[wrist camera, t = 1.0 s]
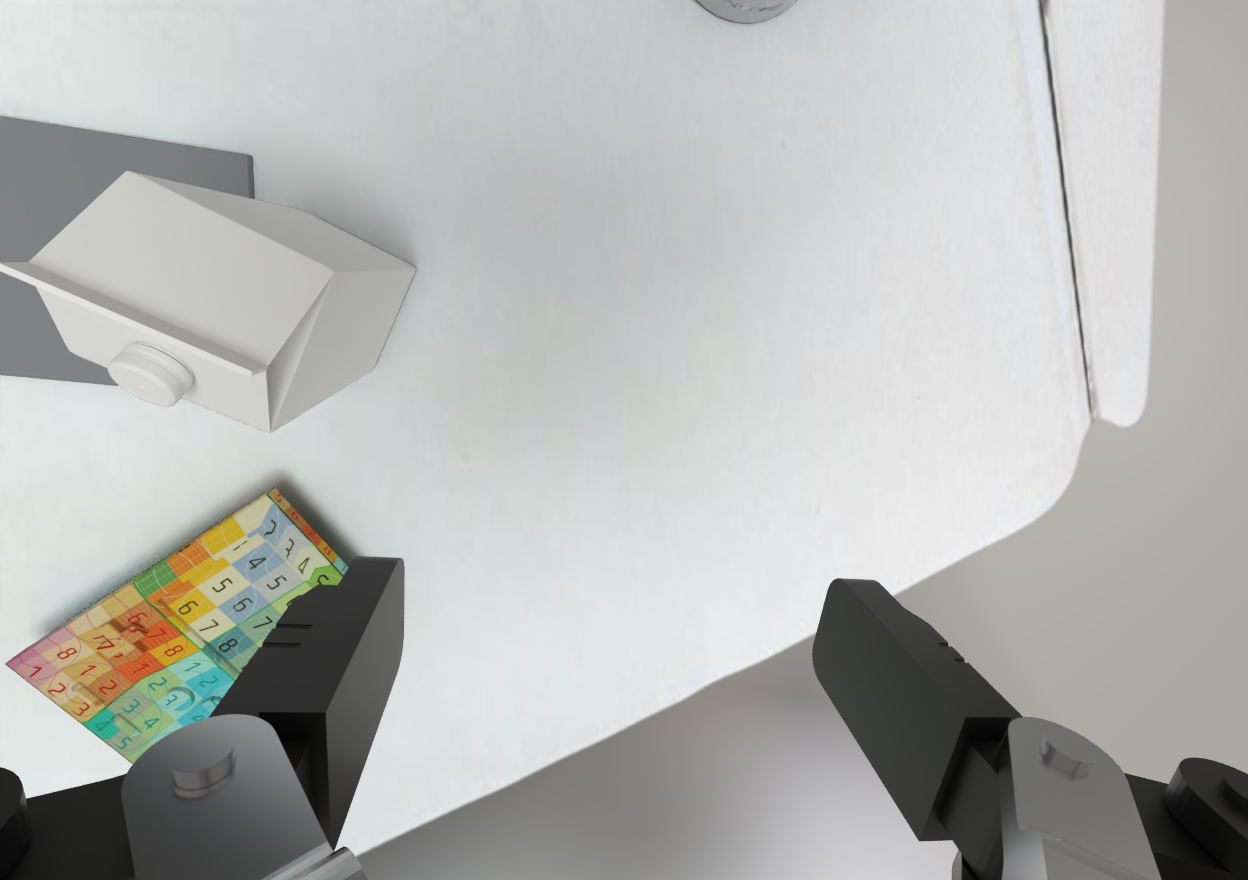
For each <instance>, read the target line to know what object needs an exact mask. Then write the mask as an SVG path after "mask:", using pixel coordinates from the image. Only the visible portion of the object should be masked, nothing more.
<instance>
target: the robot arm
mask: <svg viewBox="0 0 1248 880" xmlns="http://www.w3.org/2000/svg"><path fill="white" fill-rule="evenodd" d="M697 1H698V2H699V3H700V4H701V5H702V6H703V7H704V8H706V9H708V10H709V11H711V12H712V13H714V14H715V15H717V16H718V17H721V18H724V19H727V20H730V21H732V22H741V23H754V22H760V21H765V20H768V19H770V18H772V17H775V16H777V15H779V14H781V13H782V12H784V11H785V10H786V9H788V8H789V7H790V6H792V5H793V4H794V3H795V2H796V1H797V0H697ZM403 639H404V562H403V559H402V558H387V557H365V556H357V557H355V558H354V560H353V561H352V563H351V564H350V566H349V568H348V569H347V571H346V572H345V574H344V576H343V577H342V579H341V581H340V582H339V584H338V585H323V584H318V585H317V586H315V587H314V588H312V589H311V590H309V591H308V592H306V593H305V594H303V595H302V596H300V597H299V598H297V599H296V600H294V601H293V602H291V604H290V605H289V606H288V608H287V609H286V611H285V612H284V613H283V615H282V616H281V618H280V619H279V620H278V622H277V623H276V627H275V628H273V629H272V630H271V631H270V633H269V634H268V636H267V637H266V638H265V640H264V641H263V644H262V647H259V648H258V649H257V651H256V652H255V654H254V655H253V656H252V658H251V659H250V660H249V662H248V663H247V665H246V666H245V667H244V669H243V670H242V672H241V673H240V674H239V676H238V677H237V679H236V680H235V681H234V683H233V684H232V685H231V687H230V688H229V690H228V691H227V692H226V694H225V695H224V697H223V698H222V699H221V701H220V702H219V703H218V705H217V706H216V708H215V709H214V710H213V712H212V713H211V715H210V716H209V717H208V718H206V719H203V720H200V721H197V722H194V723H191V724H189V725H186V726H184V727H182V728H179V729H177V730H176V731H174V732H172V733H170V734H168V735H166V736H165V737H163V738H162V739H160V740H159V741H157V742H156V743H155V744H153V745H152V746H151V747H150V748H148V749H147V750H146V751H145V752H144V753H143V754H142V755H141V756H140V757H139V758H138V759H137V760H136V761H135V762H134V764H133V765H132V766H131V768H130V769H129V771H128V773H127V774H124V775H121V776H118V777H114V778H111V779H107V780H103V781H99V782H95V783H91V784H86V785H82V786H78V787H74V788H70V789H65V790H61V791H57V792H53V793H49V794H44V795H40V796H36V797H32V798H28V799H26V797H25V793H24V789H23V785H22V782H21V780H20V779H19V777H18V776H17V775H16V774H15V773H14V772H12V771H10V770H7V769H5V768H1V767H0V880H368V879H367V877H366V875H365V873H364V871H363V869H362V868H361V866H360V864H359V862H358V860H357V859H356V857H355V856H354V854H353V853H352V852H351V851H350V849H348V848H347V847H342V848H340V849H339V850H337V851H335V852H334V850H335V848H336V845H337V842H338V839H339V836H340V833H341V831H342V828H343V825H344V822H345V819H346V816H347V814H348V811H349V808H350V805H351V802H352V800H353V797H354V794H355V791H356V788H357V785H358V783H359V780H360V777H361V774H362V771H363V768H364V766H365V763H366V760H367V757H368V754H369V751H370V749H371V746H372V743H373V740H374V737H375V734H376V732H377V729H378V726H379V723H380V720H381V718H382V715H383V712H384V709H385V706H386V703H387V701H388V698H389V695H390V692H391V689H392V686H393V684H394V681H395V678H396V675H397V672H398V669H399V665H400V660H401V655H402V649H403ZM812 655H813V665H814V669H815V673H816V676H817V678H818V680H819V682H820V683H821V685H822V686H823V688H824V690H825V691H826V693H827V695H828V696H829V698H830V699H831V701H832V703H833V704H834V706H835V707H836V709H837V710H838V712H839V714H840V715H841V717H842V719H843V720H844V722H845V723H846V725H847V726H848V728H849V730H850V731H851V733H852V735H853V736H854V738H855V739H856V741H857V743H858V744H859V746H860V747H861V749H862V751H863V752H864V754H865V755H866V757H867V758H868V760H869V762H870V763H871V765H872V767H873V768H874V770H875V771H876V773H877V775H878V776H879V778H880V779H881V781H882V783H883V784H884V786H885V787H886V789H887V790H888V792H889V794H890V795H891V797H892V798H893V800H894V802H895V803H896V805H897V807H898V808H899V810H900V811H901V813H902V815H903V816H904V818H905V819H906V821H907V823H908V824H909V826H910V827H911V829H912V831H913V832H914V834H915V835H916V837H917V839H918V840H919V841H942V840H953V842H954V843H955V845H956V846H957V847H958V852H957V855H956V857H955V859H954V862H953V866H952V880H1248V774H1246V773H1244V772H1242V771H1240V770H1237V769H1235V768H1233V767H1230V766H1228V765H1225V764H1222V763H1219V762H1216V761H1212V760H1208V759H1203V758H1187V759H1184V760H1182V761H1181V762H1180V764H1179V766H1178V768H1177V770H1176V772H1175V773H1174V775H1173V778H1172V779H1171V781H1170V783H1169V784H1166V783H1162V782H1158V781H1154V780H1150V779H1146V778H1142V777H1138V776H1133V775H1130V774H1126V773H1123V771H1122V770H1121V768H1120V767H1119V766H1118V765H1117V764H1116V763H1115V761H1114V760H1113V759H1112V758H1111V757H1110V756H1109V755H1108V754H1107V753H1105V752H1104V751H1103V750H1102V749H1100V748H1099V747H1098V746H1097V745H1095V744H1094V743H1092V742H1091V741H1089V740H1088V739H1086V738H1085V737H1083V736H1081V735H1080V734H1078V733H1076V732H1074V731H1072V730H1070V729H1068V728H1066V727H1063V726H1061V725H1059V724H1056V723H1053V722H1051V721H1047V720H1044V719H1039V718H1033V717H1023V716H1021V714H1020V713H1019V712H1017V710H1015V708H1013V707H1012V706H1011V705H1010V704H1009V703H1008V702H1007V701H1006V700H1005V699H1004V698H1003V697H1002V696H1001V695H1000V694H999V693H998V692H997V691H996V690H995V689H994V688H993V687H992V686H991V685H990V684H989V683H988V682H987V681H986V680H985V679H984V678H983V677H982V676H981V675H980V674H979V673H978V672H977V671H976V670H975V669H974V668H973V667H972V666H971V665H970V664H969V663H965V662H964V658H963V657H962V656H961V655H960V654H959V653H958V652H957V651H956V650H955V649H954V648H953V647H949V646H948V642H947V641H945V639H944V638H943V637H942V636H941V635H940V634H939V633H937V631H936V630H935V629H934V628H933V627H932V626H931V625H929V624H928V623H927V622H925V621H924V620H922V619H921V618H919V617H918V616H916V615H914V614H912V613H911V612H910V611H908V610H907V609H905V608H903V607H902V606H901V605H900V604H899V603H898V602H897V601H896V599H895V598H894V597H893V596H892V595H891V594H890V593H889V592H888V591H887V590H886V589H885V588H884V587H883V586H882V585H881V584H880V583H878V582H877V581H875V580H863V579H840V578H839V579H835V580H833V581H832V583H831V584H830V586H829V588H828V591H827V595H826V599H825V602H824V606H823V610H822V614H821V618H820V621H819V625H818V629H817V633H816V637H815V640H814V644H813V653H812Z"/></svg>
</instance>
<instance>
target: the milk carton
mask: <svg viewBox="0 0 1248 880" xmlns="http://www.w3.org/2000/svg"><path fill="white" fill-rule="evenodd" d="M0 271H1V272H3V273H6V274H8V275H10V276H13V277H15V278H17V279H20V280H22V281H24V282H27V283H29V284H31V285H34V286H36V288H37V290H38V292H39V294H40V296H41V298H42V299H43V301H44V303H45V305H46V307H47V309H48V311H49V313H50V315H51V317H52V319H53V321H54V323H55V325H56V327H57V329H58V331H59V332H60V334H61V336H62V338H63V340H64V342H65V344H66V346H67V348H68V349H69V351H70V352H72V353H74V354H75V355H78V356H80V357H82V358H84V359H87V360H89V361H92V362H94V363H96V364H99V365H101V366H103V367H106V368H107V369H108V372H109V374H110V376H111V378H112V379H113V380H114V381H115V382H116V383H117V384H118V385H119V386H120V387H121V388H123V389H124V390H126V391H127V392H129V393H130V394H132V395H134V396H136V397H138V398H140V399H142V400H144V401H146V402H149V403H152V404H155V405H158V406H164V407H170V406H173V405H175V404H176V403H177V402H178V401H179V400H180V399H181V398H182V399H185V400H187V401H189V402H192V403H194V404H197V405H199V406H202V407H204V408H207V409H209V410H212V411H214V412H216V413H219V414H221V415H224V416H226V417H229V418H231V419H234V420H236V421H239V422H241V423H244V424H246V425H249V426H251V427H254V428H257V429H259V430H262V431H265V432H268V433H271V432H273V431H275V430H276V429H278V428H280V427H281V426H283V425H285V424H286V423H288V422H290V421H291V420H293V419H294V418H296V417H298V416H299V415H301V414H302V413H304V412H306V411H307V410H309V409H311V408H312V407H314V406H315V405H317V404H319V403H320V402H322V401H323V400H325V399H327V398H328V397H330V396H332V395H333V394H335V393H336V392H338V391H340V390H341V389H343V388H344V387H346V386H348V385H349V384H351V383H353V382H354V381H356V380H357V379H359V378H361V377H362V376H364V375H365V374H367V373H369V372H370V371H372V370H373V369H374V367H375V365H376V363H377V360H378V358H379V356H380V353H381V351H382V349H383V346H384V344H385V342H386V339H387V337H388V335H389V332H390V330H391V328H392V325H393V323H394V321H395V318H396V316H397V314H398V311H399V309H400V307H401V304H402V302H403V300H404V297H405V295H406V293H407V290H408V288H409V286H410V283H411V281H412V279H413V276H414V274H415V272H416V268H415V267H413V266H412V265H410V264H408V263H406V262H404V261H402V260H400V259H398V258H396V257H394V256H392V255H390V254H389V253H387V252H385V251H383V250H381V249H379V248H377V247H375V246H373V245H371V244H369V243H367V242H365V241H363V240H361V239H359V238H357V237H355V236H353V235H351V234H349V233H347V232H345V231H343V230H341V229H339V228H337V227H335V226H333V225H331V224H329V223H327V222H325V221H323V220H322V219H320V218H318V217H316V216H314V215H312V214H310V213H307V212H305V211H303V210H299V209H295V208H291V207H286V206H282V205H277V204H273V203H268V202H264V201H259V200H255V199H251V198H246V197H242V196H237V195H233V194H228V193H224V192H219V191H215V190H211V189H206V188H202V187H197V186H193V185H188V184H184V183H179V182H175V181H171V180H166V179H162V178H157V177H153V176H148V175H144V174H139V173H135V172H131V171H126V172H124V173H123V174H122V175H121V176H120V177H119V178H118V179H117V180H116V181H115V182H114V183H113V184H112V185H110V186H109V187H108V188H107V189H106V190H105V191H104V192H103V193H102V194H101V195H100V196H99V197H98V198H96V199H95V200H94V201H93V202H92V203H91V204H90V205H89V206H88V207H87V208H86V209H85V210H84V211H82V212H81V213H80V214H79V215H78V216H77V217H76V218H75V219H74V220H73V221H72V222H71V223H70V224H68V225H67V226H66V227H65V228H64V229H63V230H62V231H61V232H60V233H59V234H58V235H57V236H56V237H54V238H53V239H52V240H51V241H50V242H49V243H48V244H47V245H46V246H45V247H44V248H43V249H42V250H40V251H39V252H38V253H37V254H36V255H35V256H34V257H33V258H32V259H31V260H30V261H29V262H0Z"/></svg>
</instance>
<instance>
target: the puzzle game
mask: <svg viewBox="0 0 1248 880" xmlns="http://www.w3.org/2000/svg"><path fill="white" fill-rule="evenodd" d="M348 568H349V567H348V566H347V565H346V564H345V563H344V562H343V561H342V560H341V559H340V558H339V556H338V555H337V554H336V553H335V552H334V551H333V550H332V549H331V548H330V547H329V546H328V545H327V543H326V542H325V541H324V540H323V539H322V538H321V537H320V536H319V535H318V534H317V533H316V532H315V531H314V529H313V528H312V527H311V526H310V525H309V524H308V523H307V522H306V521H305V520H304V519H303V518H302V516H301V515H300V514H299V513H298V512H297V511H296V510H295V509H294V508H293V507H292V506H291V505H290V503H289V502H288V501H287V500H286V499H285V498H284V497H283V496H282V495H281V494H280V493H279V492H278V491H277V489H276V488H275V487H274V488H272V489H271V490H269V491H267V492H266V493H264V494H263V495H261V496H260V497H258V498H257V499H255V500H254V501H252V502H251V503H249V504H248V505H246V506H244V507H243V508H241V509H240V510H238V511H237V512H235V513H234V514H232V515H231V516H229V517H228V518H226V519H224V520H223V521H221V522H220V523H218V524H217V525H215V526H214V527H212V528H211V529H209V530H208V531H206V532H204V533H203V534H201V535H200V536H198V537H197V538H195V539H194V540H192V541H191V542H189V543H188V544H186V545H185V546H183V547H181V548H180V549H178V550H177V551H175V552H174V553H172V554H171V555H169V556H168V557H166V558H165V559H163V560H161V561H160V562H158V563H157V564H155V565H154V566H152V567H151V568H149V569H148V570H146V571H145V572H143V573H141V574H140V575H138V576H137V577H135V578H134V579H132V580H131V581H129V582H128V583H126V584H125V585H123V586H122V587H120V588H118V589H117V590H115V591H114V592H112V593H111V594H109V595H108V596H106V597H105V598H103V599H102V600H100V601H98V602H97V603H95V604H94V605H92V606H91V607H89V608H88V609H86V610H85V611H83V612H82V613H80V614H78V615H77V616H75V617H74V618H72V619H71V620H69V621H68V622H66V623H65V624H63V625H62V626H60V627H59V628H57V629H55V630H54V631H52V632H51V633H49V634H48V635H46V636H45V637H43V638H42V639H40V640H39V641H37V642H35V643H34V644H32V645H31V646H29V647H28V648H26V649H25V650H23V651H22V652H20V653H19V654H18V655H16V656H15V657H14V658H12V659H11V660H9V661H8V662H7V663H5V664H6V665H7V666H8V667H9V668H11V669H12V670H13V671H15V672H16V673H17V674H18V675H20V676H21V677H22V678H23V679H25V680H26V681H27V682H29V683H30V684H31V685H32V686H34V687H35V688H36V689H38V690H39V691H40V692H41V693H43V694H44V695H45V696H46V697H48V698H49V699H50V700H52V701H53V702H54V703H55V704H57V705H58V706H59V707H60V708H62V709H63V710H64V711H66V712H67V713H68V714H69V715H71V716H72V717H73V718H75V719H76V720H77V721H78V722H80V723H81V724H82V725H83V726H85V727H86V728H87V729H89V730H90V731H91V732H92V733H94V734H95V735H96V736H97V737H99V738H100V739H101V740H103V741H104V742H105V743H106V744H108V745H109V746H110V747H112V748H113V749H114V750H115V751H117V752H118V753H119V754H120V755H122V756H123V757H124V758H126V759H127V760H128V761H129V762H131V763H132V764H134V762H135V761H136V760H137V759H138V758H139V757H140V756H141V755H142V754H143V753H144V752H145V751H146V750H147V749H148V748H150V747H151V746H152V745H153V744H155V743H156V742H157V741H159V740H160V739H162V738H163V737H165V736H166V735H168V734H170V733H172V732H174V731H176V730H177V729H179V728H182V727H184V726H186V725H189V724H191V723H194V722H197V721H200V720H203V719H206V718H208V717H209V716H210V715H211V713H212V712H213V710H214V709H215V708H216V706H217V705H218V703H219V702H220V701H221V699H222V698H223V697H224V695H225V694H226V692H227V691H228V690H229V688H230V687H231V685H232V684H233V683H234V681H235V680H236V679H237V677H238V676H239V674H240V673H241V672H242V670H243V669H244V667H245V666H246V665H247V663H248V662H249V660H250V659H251V658H252V656H253V655H254V654H255V652H256V651H257V649H258V648H259V647H262V644H263V641H264V640H265V638H266V637H267V636H268V634H269V633H270V631H271V630H272V629H273V628H275V627H276V623H277V622H278V620H279V619H280V618H281V616H282V615H283V613H284V612H285V611H286V609H287V608H288V606H289V605H290V604H291V602H293V601H294V600H296V599H297V598H299V597H300V596H302V595H303V594H305V593H306V592H308V591H309V590H311V589H312V588H314V587H315V586H317V585H318V584H323V585H338V584H339V582H340V581H341V579H342V577H343V576H344V574H345V572H346V571H347V569H348Z"/></svg>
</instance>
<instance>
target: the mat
mask: <svg viewBox="0 0 1248 880" xmlns="http://www.w3.org/2000/svg"><path fill="white" fill-rule="evenodd" d="M126 171H131V172H135V173H139V174H144V175H148V176H153V177H157V178H162V179H166V180H171V181H175V182H179V183H184V184H188V185H193V186H197V187H202V188H206V189H211V190H215V191H219V192H224V193H228V194H233V195H237V196H242V197H246V198H251V199H254V184H253V159H252V157H251V156H249V155H244V154H238V153H232V152H225V151H219V150H212V149H206V148H200V147H193V146H187V145H180V144H174V143H167V142H161V141H155V140H148V139H142V138H135V137H129V136H123V135H116V134H110V133H103V132H97V131H91V130H84V129H78V128H71V127H65V126H59V125H52V124H46V123H39V122H33V121H27V120H20V119H14V118H7V117H1V116H0V262H29V261H30V260H31V259H32V258H33V257H34V256H35V255H36V254H37V253H38V252H39V251H40V250H42V249H43V248H44V247H45V246H46V245H47V244H48V243H49V242H50V241H51V240H52V239H53V238H54V237H56V236H57V235H58V234H59V233H60V232H61V231H62V230H63V229H64V228H65V227H66V226H67V225H68V224H70V223H71V222H72V221H73V220H74V219H75V218H76V217H77V216H78V215H79V214H80V213H81V212H82V211H84V210H85V209H86V208H87V207H88V206H89V205H90V204H91V203H92V202H93V201H94V200H95V199H96V198H98V197H99V196H100V195H101V194H102V193H103V192H104V191H105V190H106V189H107V188H108V187H109V186H110V185H112V184H113V183H114V182H115V181H116V180H117V179H118V178H119V177H120V176H121V175H122V174H123V173H124V172H126ZM0 375H7V376H18V377H29V378H40V379H50V380H61V381H72V382H83V383H94V384H104V385H115V386H119V385H118V384H117V383H116V382H115V381H114V380H113V379H112V378H111V376H110V374H109V372H108V369H107V368H106V367H103V366H101V365H99V364H96V363H94V362H92V361H89V360H87V359H84V358H82V357H80V356H78V355H75V354H74V353H72V352H70V351H69V349H68V348H67V346H66V344H65V342H64V340H63V338H62V336H61V334H60V332H59V331H58V329H57V327H56V325H55V323H54V321H53V319H52V317H51V315H50V313H49V311H48V309H47V307H46V305H45V303H44V301H43V299H42V298H41V296H40V294H39V292H38V290H37V288H36V286H34V285H31V284H29V283H27V282H24V281H22V280H20V279H17V278H15V277H13V276H10V275H8V274H6V273H3V272H1V271H0Z"/></svg>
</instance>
